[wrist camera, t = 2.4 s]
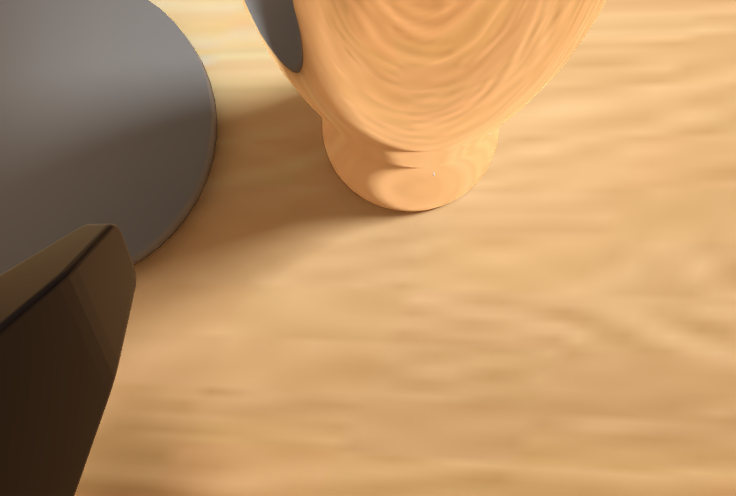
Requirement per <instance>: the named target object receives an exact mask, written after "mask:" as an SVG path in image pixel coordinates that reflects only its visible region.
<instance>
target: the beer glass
mask: <svg viewBox="0 0 736 496" xmlns="http://www.w3.org/2000/svg"><path fill="white" fill-rule="evenodd" d="M241 1H242V3H243V5H244V8H245V10H246V12H247V13H248V15H249V17H250V19H251V21H252V23H253V25H254V27H255V28H256V30H257V32H258V34H259V36H260V38H261V40H262V41H263V43H264V45H265V47H266V49H267V51H268V52H269V54H270V56H271V57H272V59H273V60H274V62H275V63H276V64H277V66H278V67H279V68H280V70H281V71H282V72H283V73H284V75H285V76H286V77H287V79H288V80H289V81H290V82H291V84H292V85H293V86H294V87H295V89H296V90H297V91H298V92H299V94H300V95H301V96H302V97H303V98H304V99H305V101H306V102H307V103H308V104H309V105H310V106H311V107H312V108H313V109H314V110H315V111H316V112H317V113H318V114H320V115H321V116H322V133H323V140H324V144H325V148H326V152H327V155H328V157H329V160H330V162H331V164H332V166H333V168H334V169H335V171H336V173H337V174H338V175H339V177H340V178H341V179H342V180H343V182H344V183H345V184H346V185H347V186H348V187H349V188H350V189H352V190H353V191H354V192H355V193H356V194H358V195H359V196H361V197H362V198H364V199H366V200H367V201H369V202H371V203H374V204H376V205H378V206H381V207H384V208H388V209H392V210H398V211H423V210H429V209H433V208H437V207H440V206H443V205H445V204H447V203H450V202H452V201H454V200H455V199H457V198H459V197H460V196H462V195H463V194H465V193H466V192H467V191H468V190H470V189H471V188H472V187H473V186H474V185H475V184H476V183H477V182H478V181H479V180H480V179H481V177H482V176H483V175H484V173H485V172H486V170H487V169H488V167H489V165H490V163H491V161H492V159H493V156H494V153H495V150H496V147H497V143H498V137H499V131H500V126H501V125H502V124H503V123H505V122H506V121H507V120H509V119H510V118H511V117H512V116H514V115H515V114H516V113H517V112H519V111H520V110H521V109H522V108H523V107H524V106H525V105H527V104H528V103H529V102H530V101H531V100H532V99H533V98H534V97H535V96H536V95H537V94H538V93H539V92H540V91H541V90H542V89H543V88H544V87H545V86H546V85H547V84H548V83H549V82H550V81H551V80H552V79H553V78H554V76H555V75H556V74H557V73H558V72H559V71H560V70H561V68H562V67H563V66H564V65H565V63H566V62H567V60H568V59H569V58H570V56H571V55H572V53H573V52H574V51H575V49H576V48H577V46H578V45H579V43H580V42H581V41H582V39H583V38H584V36H585V35H586V33H587V32H588V31H589V29H590V28H591V26H592V25H593V24H594V22H595V20H596V19H597V17H598V16H599V14H600V12H601V10H602V9H603V7H604V5H605V3H606V2H607V0H241Z"/></svg>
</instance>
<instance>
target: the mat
mask: <svg viewBox="0 0 736 496" xmlns="http://www.w3.org/2000/svg"><path fill="white" fill-rule="evenodd" d="M216 136H217V115H216V106H215V99H214V95H213V91H212V87H211V83H210V80H209V77H208V75H207V72H206V70H205V68H204V65H203V63H202V61H201V60H200V58H199V56H198V54H197V53H196V51H195V49H194V48H193V46H192V45H191V43H190V42H189V41H188V39H187V38H186V36H185V35H184V34H183V33H182V31H181V30H180V29H179V28H178V26H177V25H176V24H175V22H174V21H172V20H171V19H170V18H169V17H168V16H167V15H166V14H165V13H164V12H163V11H162V10H161V9H160V8H158V7H157V6H155V5H154V4H153V3H151V2H150V1H149V0H0V275H2V274H3V273H5V272H7V271H8V270H10V269H12V268H13V267H15V266H17V265H18V264H20V263H22V262H23V261H25V260H27V259H28V258H30V257H32V256H33V255H35V254H37V253H38V252H40V251H42V250H43V249H45V248H46V247H48V246H50V245H51V244H53V243H55V242H56V241H58V240H60V239H61V238H63V237H65V236H66V235H68V234H70V233H71V232H73V231H75V230H76V229H78V228H80V227H81V226H83V225H86V224H103V223H112V224H114V225H116V226H118V228H119V229H120V231H121V233H122V235H123V238H124V241H125V243H126V246H127V249H128V252H129V254H130V257H131V260H132V263H133V265H134V264H136V263H137V262H139V261H141V260H143V259H144V258H145V257H147V256H148V255H149V254H151V253H152V252H153V251H155V250H156V249H157V248H158V247H160V246H161V245H162V244H163V243H164V242H165V241H166V240H167V239H168V238H169V237H170V236H171V235H172V234H173V233H174V232H175V231H176V230H177V229H178V227H179V226H180V225H181V223H182V222H183V221H184V220H185V218H186V217H187V216H188V215H189V213H190V211H191V210H192V208H193V206H194V205H195V203H196V201H197V200H198V198H199V196H200V194H201V192H202V189H203V187H204V185H205V183H206V180H207V178H208V175H209V171H210V168H211V165H212V161H213V157H214V151H215V145H216Z"/></svg>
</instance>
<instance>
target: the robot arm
mask: <svg viewBox="0 0 736 496" xmlns="http://www.w3.org/2000/svg"><path fill="white" fill-rule="evenodd" d="M135 287H136V273H135V269H134V266H133V263H132V260H131V257H130V254H129V252H128V249H127V246H126V243H125V241H124V238H123V235H122V233H121V231H120V229H119V228H118V226H116V225H114V224H112V223H103V224H86V225H83V226H81V227H80V228H78V229H76V230H75V231H73V232H71V233H70V234H68V235H66V236H65V237H63V238H61V239H60V240H58V241H56V242H55V243H53V244H51V245H50V246H48V247H46V248H45V249H43V250H42V251H40V252H38V253H37V254H35V255H33V256H32V257H30V258H28V259H27V260H25V261H23V262H22V263H20V264H18V265H17V266H15V267H13V268H12V269H10V270H8V271H7V272H5V273H3V274H2V275H0V496H74V495H75V492H76V489H77V486H78V484H79V481H80V478H81V475H82V472H83V469H84V467H85V464H86V461H87V458H88V455H89V452H90V449H91V447H92V444H93V441H94V438H95V435H96V432H97V430H98V427H99V424H100V421H101V418H102V415H103V413H104V410H105V407H106V404H107V401H108V398H109V395H110V392H111V389H112V386H113V383H114V380H115V376H116V372H117V368H118V365H119V360H120V356H121V351H122V347H123V342H124V337H125V333H126V328H127V324H128V319H129V315H130V310H131V306H132V301H133V297H134V292H135Z"/></svg>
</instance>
